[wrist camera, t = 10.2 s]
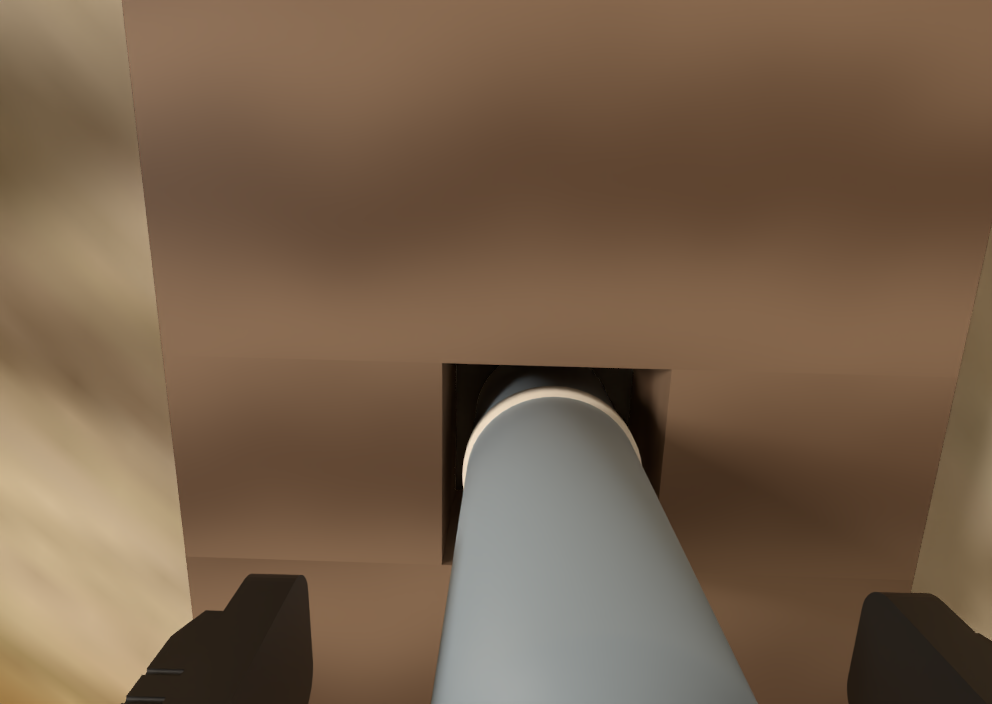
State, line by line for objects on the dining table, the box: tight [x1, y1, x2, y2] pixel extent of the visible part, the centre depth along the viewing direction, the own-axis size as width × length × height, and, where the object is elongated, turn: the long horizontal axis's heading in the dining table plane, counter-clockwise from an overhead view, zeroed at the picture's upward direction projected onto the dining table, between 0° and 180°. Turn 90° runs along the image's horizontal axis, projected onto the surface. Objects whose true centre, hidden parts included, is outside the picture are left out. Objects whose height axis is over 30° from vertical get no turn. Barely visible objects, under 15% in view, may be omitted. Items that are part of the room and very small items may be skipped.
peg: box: [431, 365, 758, 704], centre depth 13 cm, size 4×4×12 cm
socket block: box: [122, 0, 992, 704], centre depth 17 cm, size 22×18×4 cm
